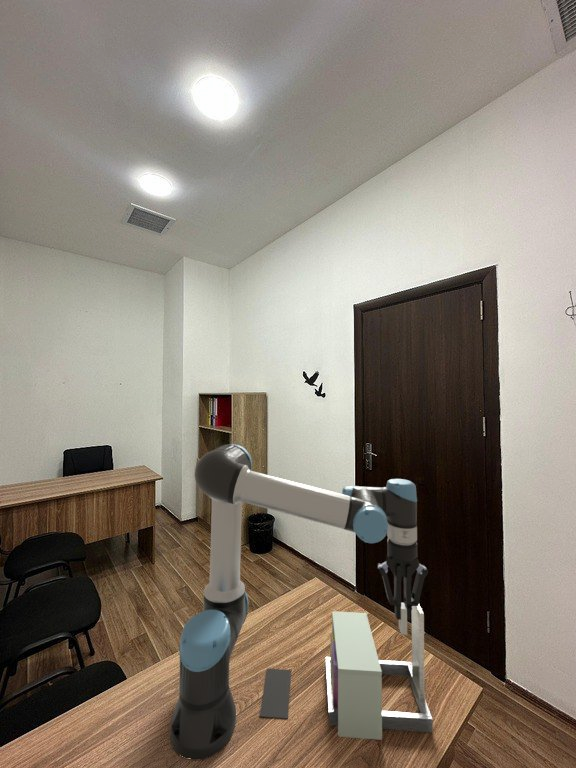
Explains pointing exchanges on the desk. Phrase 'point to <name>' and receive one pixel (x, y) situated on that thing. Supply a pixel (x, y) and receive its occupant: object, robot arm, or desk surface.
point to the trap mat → (276, 694)
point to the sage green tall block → (357, 677)
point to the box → (334, 672)
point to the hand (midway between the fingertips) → (402, 631)
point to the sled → (399, 668)
